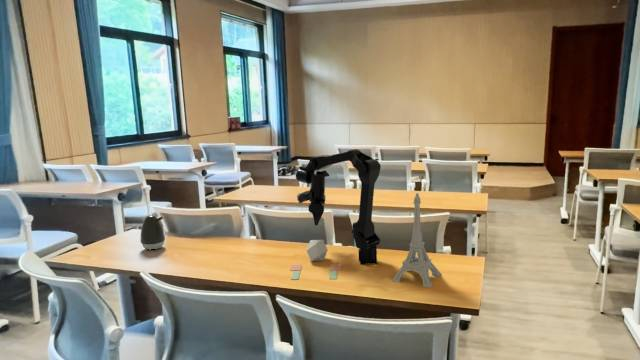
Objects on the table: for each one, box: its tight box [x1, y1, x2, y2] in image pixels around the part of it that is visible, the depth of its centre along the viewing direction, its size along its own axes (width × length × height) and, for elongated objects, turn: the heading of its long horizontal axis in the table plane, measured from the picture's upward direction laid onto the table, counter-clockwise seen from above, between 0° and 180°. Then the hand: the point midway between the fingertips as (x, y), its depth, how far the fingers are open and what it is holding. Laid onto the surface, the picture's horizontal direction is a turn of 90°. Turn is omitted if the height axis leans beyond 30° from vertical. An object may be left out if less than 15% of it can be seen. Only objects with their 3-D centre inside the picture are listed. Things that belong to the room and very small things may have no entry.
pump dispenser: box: [139, 214, 166, 251], centre depth 194 cm, size 10×10×15 cm
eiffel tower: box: [391, 192, 442, 289], centre depth 150 cm, size 13×13×30 cm
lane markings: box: [289, 263, 342, 281], centre depth 161 cm, size 19×14×1 cm
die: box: [306, 239, 328, 262], centre depth 173 cm, size 8×9×10 cm
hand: (316, 221), depth 185 cm, fingers open, 9 cm apart
